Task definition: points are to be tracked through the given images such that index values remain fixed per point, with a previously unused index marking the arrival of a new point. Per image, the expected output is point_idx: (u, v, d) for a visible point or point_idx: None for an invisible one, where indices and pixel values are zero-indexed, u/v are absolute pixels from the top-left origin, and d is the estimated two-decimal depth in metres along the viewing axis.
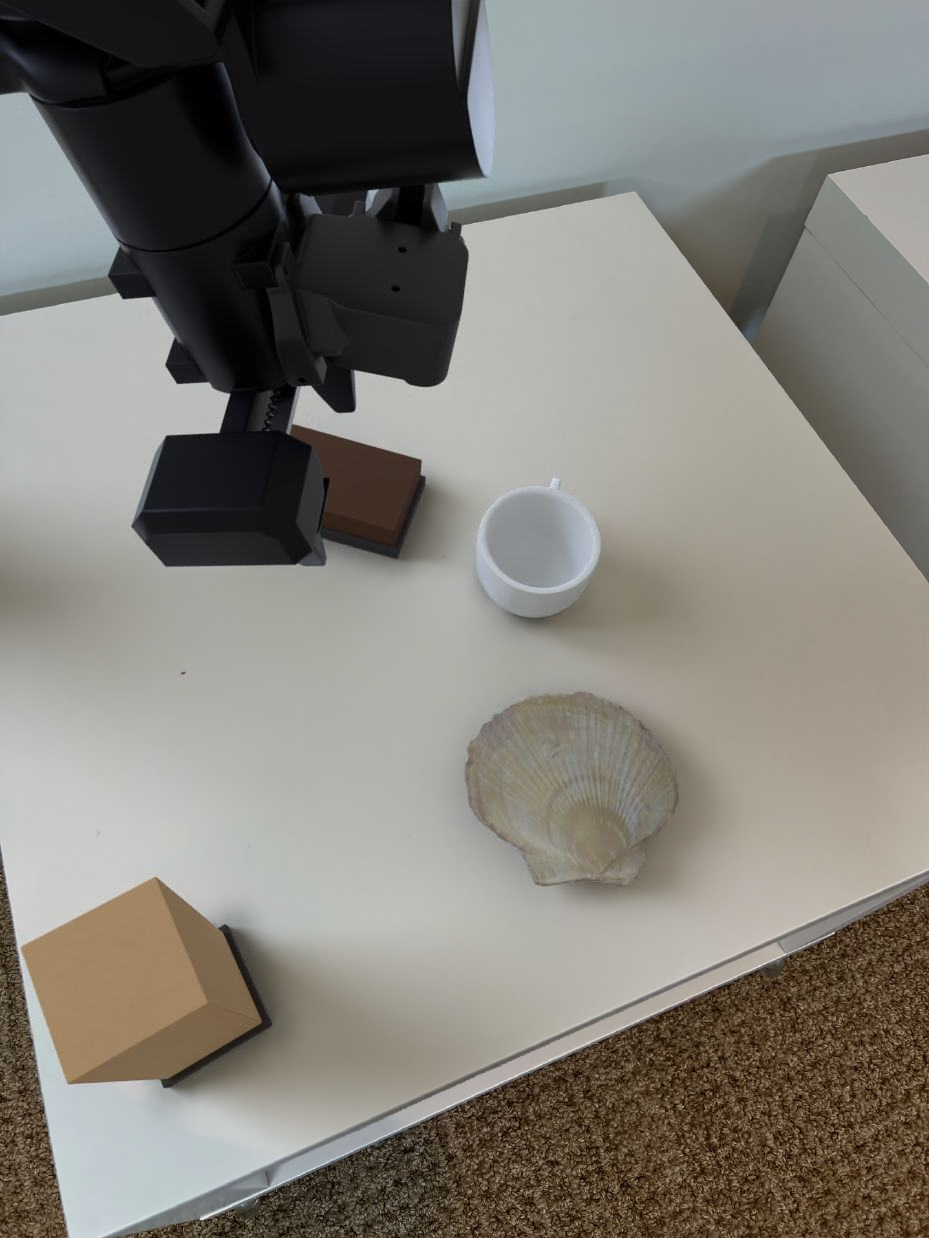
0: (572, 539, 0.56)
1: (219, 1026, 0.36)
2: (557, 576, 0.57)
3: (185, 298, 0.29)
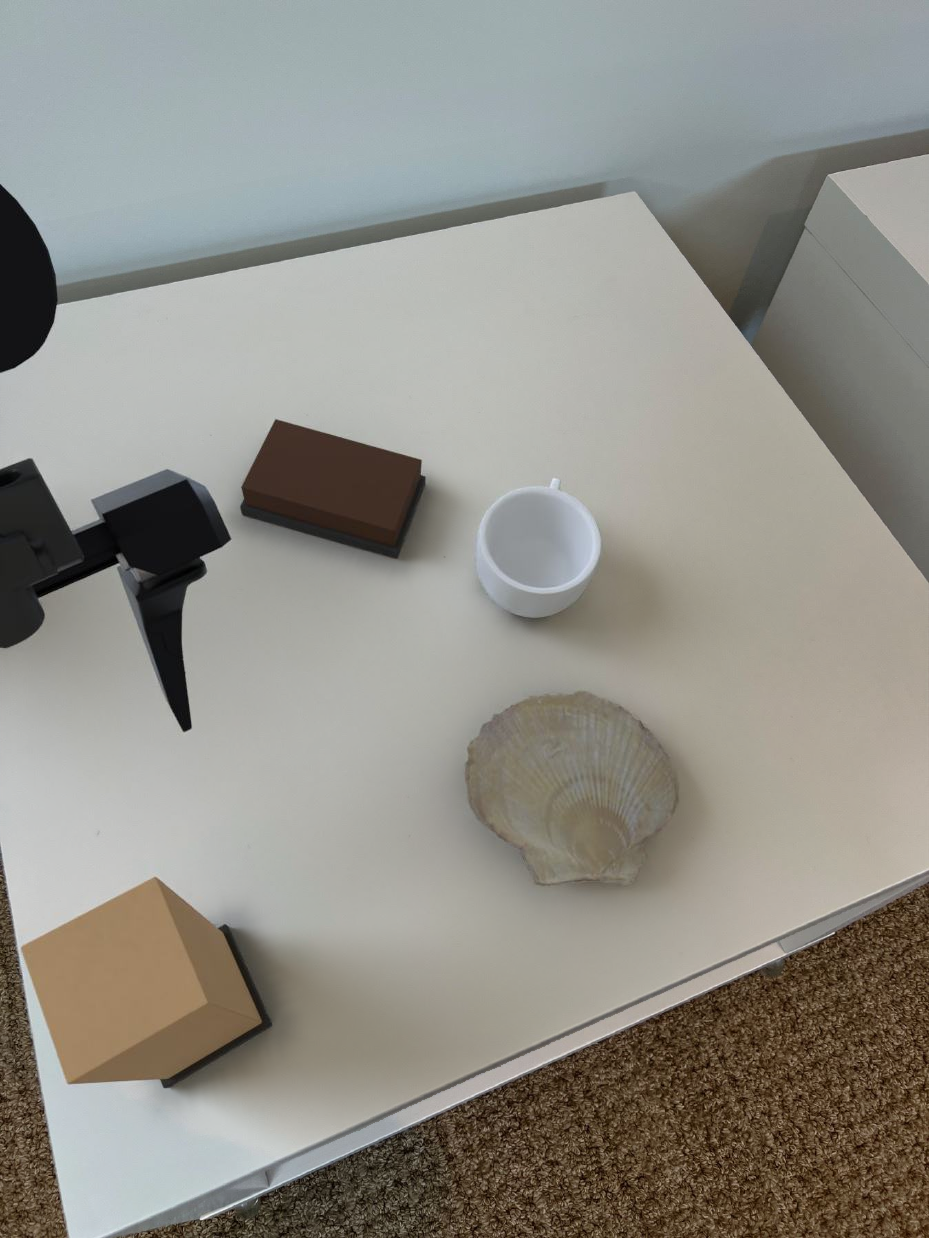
0: (572, 539, 0.56)
1: (219, 1026, 0.36)
2: (557, 576, 0.57)
3: None
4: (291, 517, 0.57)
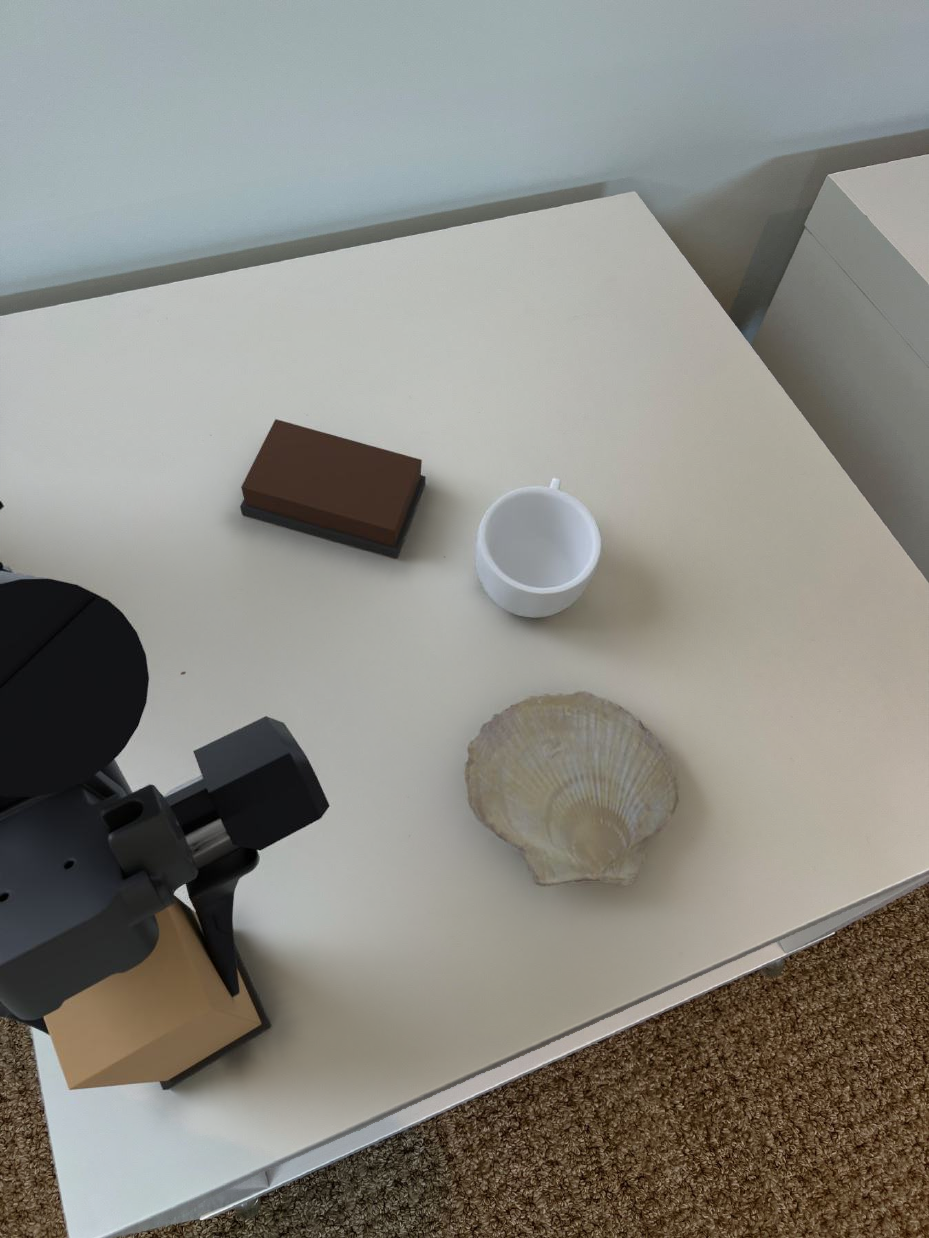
0: (572, 539, 0.56)
1: (220, 1029, 0.36)
2: (557, 576, 0.57)
3: None
4: (291, 517, 0.57)
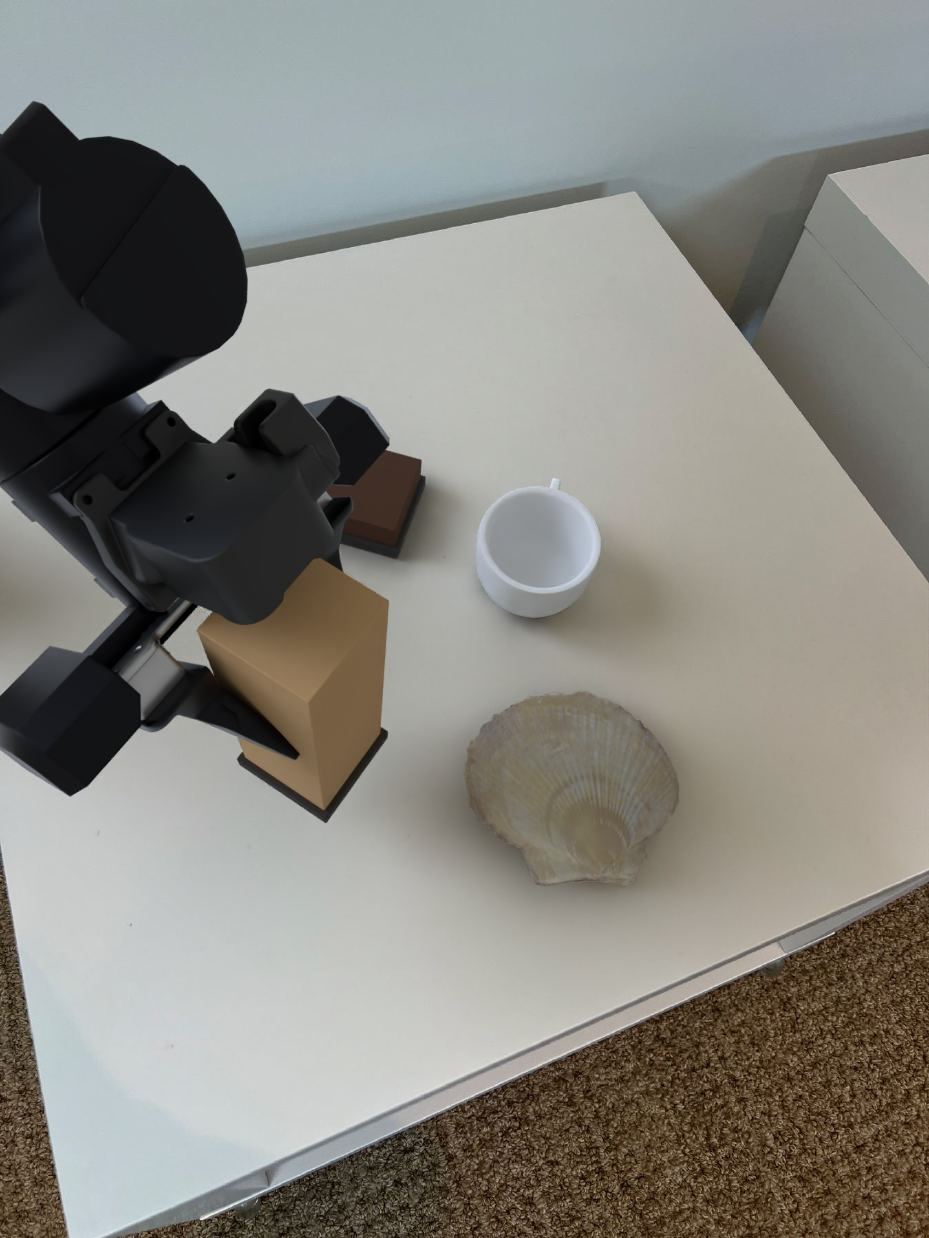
0: (572, 539, 0.56)
1: (373, 691, 0.38)
2: (557, 576, 0.57)
3: (39, 523, 0.30)
4: None
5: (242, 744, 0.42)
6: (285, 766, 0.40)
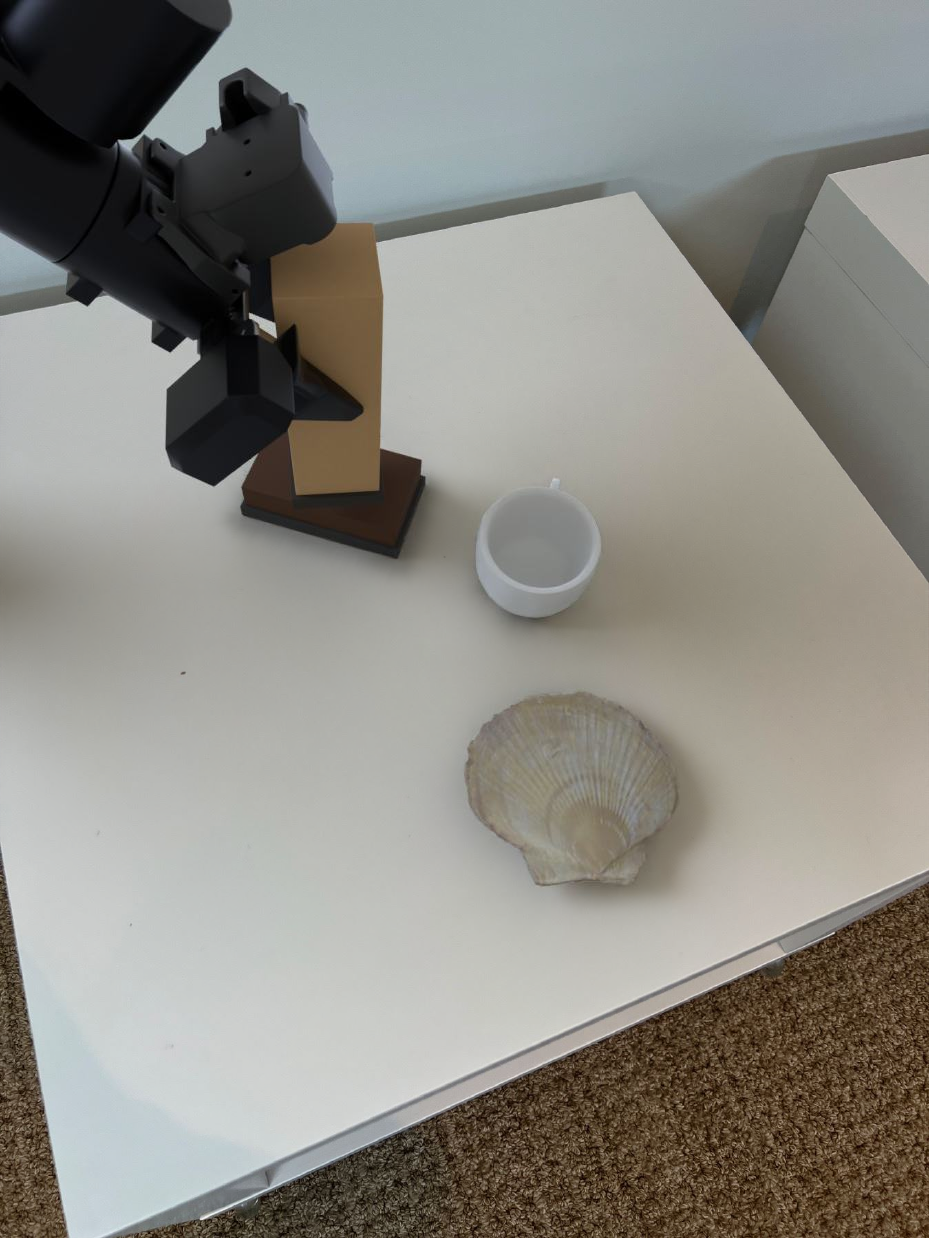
0: (572, 539, 0.56)
1: None
2: (557, 576, 0.57)
3: (115, 277, 0.36)
4: (291, 517, 0.57)
5: (297, 470, 0.50)
6: (343, 453, 0.49)
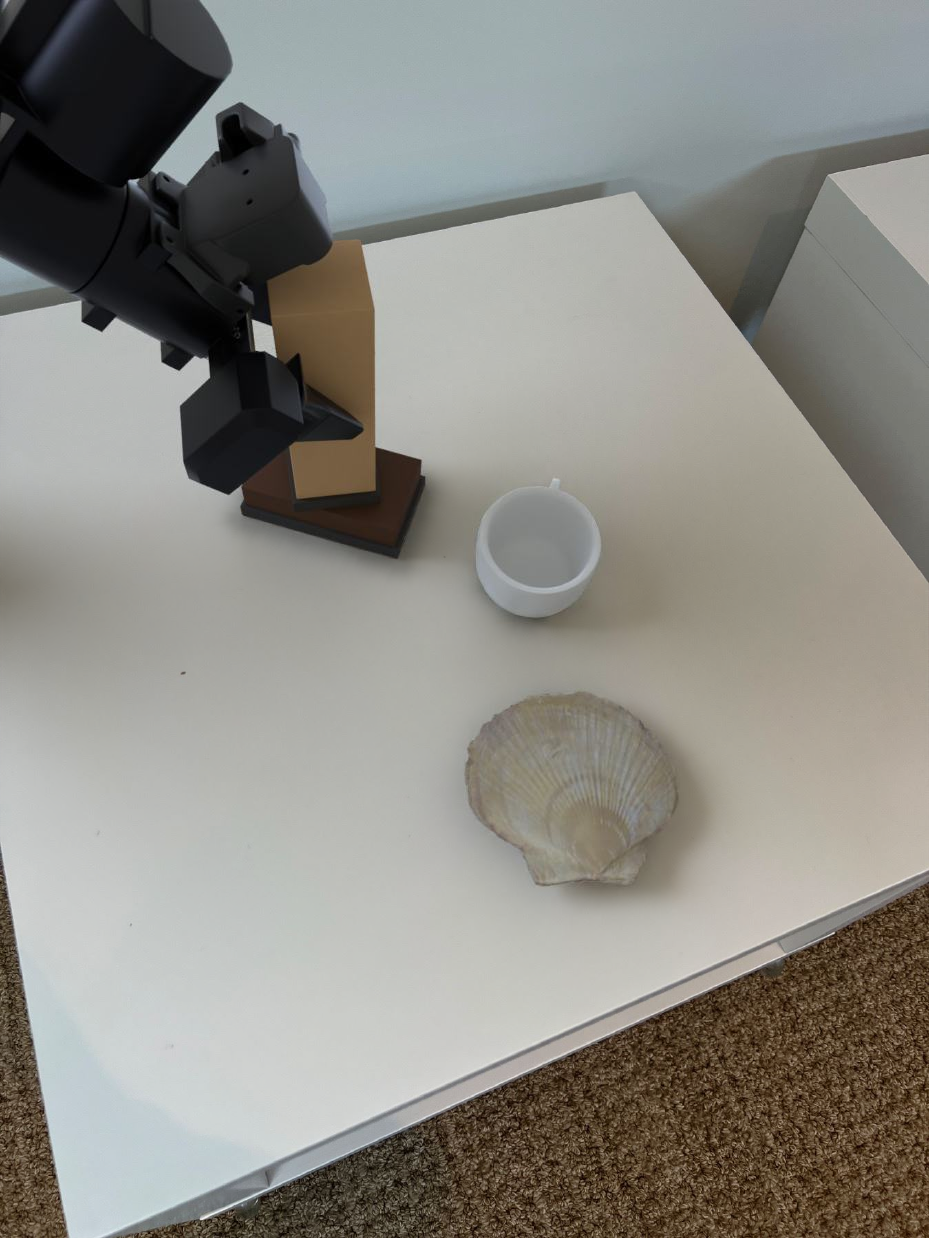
0: (572, 539, 0.56)
1: None
2: (557, 576, 0.57)
3: (128, 303, 0.39)
4: (291, 517, 0.57)
5: (297, 475, 0.52)
6: (341, 457, 0.52)
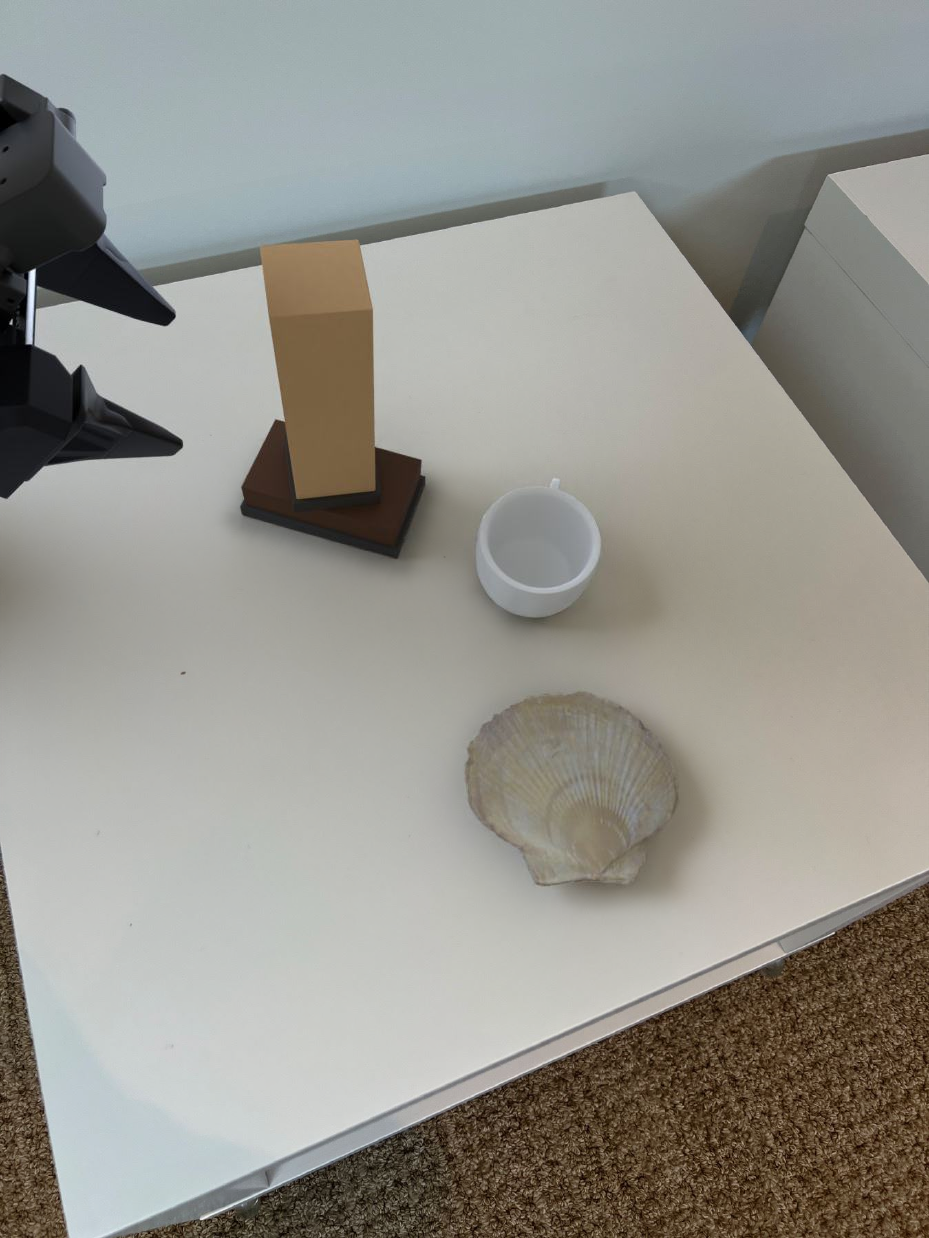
0: (572, 539, 0.56)
1: None
2: (557, 576, 0.57)
3: None
4: (291, 517, 0.57)
5: (297, 476, 0.52)
6: (340, 457, 0.52)
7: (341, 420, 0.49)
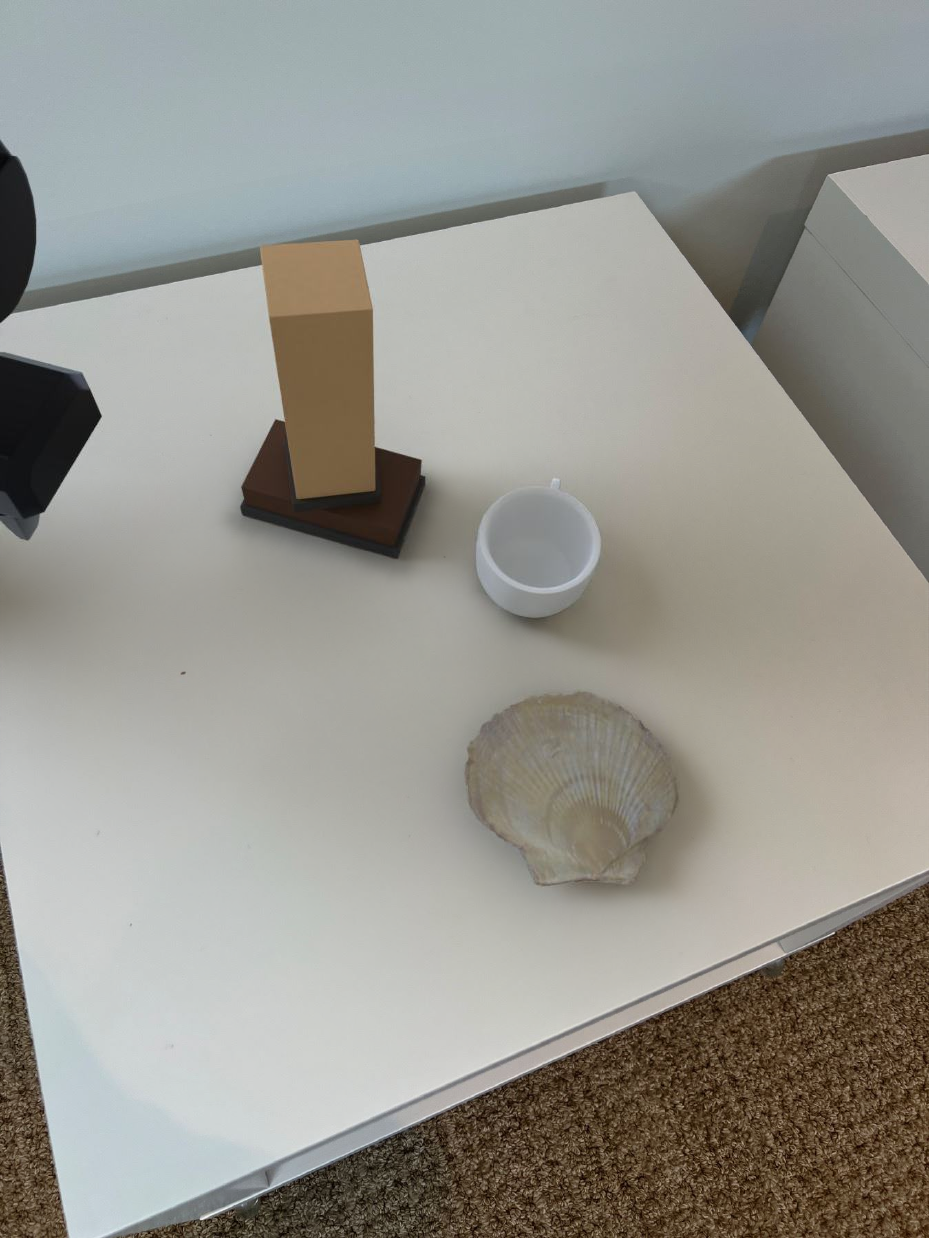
0: (572, 539, 0.56)
1: None
2: (557, 576, 0.57)
3: None
4: (291, 517, 0.57)
5: (297, 476, 0.52)
6: (340, 457, 0.52)
7: (341, 420, 0.49)
